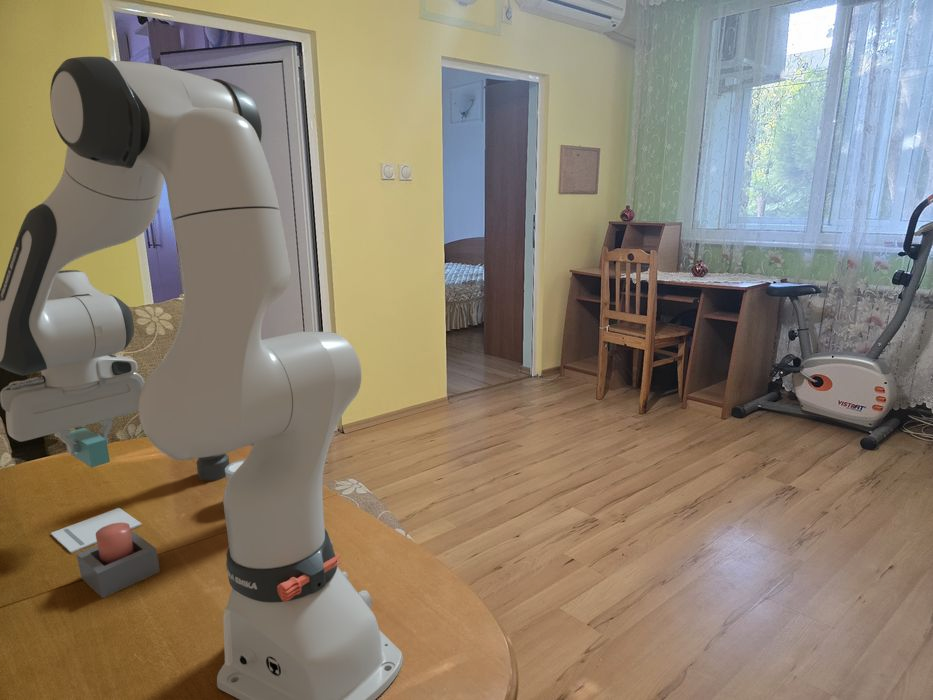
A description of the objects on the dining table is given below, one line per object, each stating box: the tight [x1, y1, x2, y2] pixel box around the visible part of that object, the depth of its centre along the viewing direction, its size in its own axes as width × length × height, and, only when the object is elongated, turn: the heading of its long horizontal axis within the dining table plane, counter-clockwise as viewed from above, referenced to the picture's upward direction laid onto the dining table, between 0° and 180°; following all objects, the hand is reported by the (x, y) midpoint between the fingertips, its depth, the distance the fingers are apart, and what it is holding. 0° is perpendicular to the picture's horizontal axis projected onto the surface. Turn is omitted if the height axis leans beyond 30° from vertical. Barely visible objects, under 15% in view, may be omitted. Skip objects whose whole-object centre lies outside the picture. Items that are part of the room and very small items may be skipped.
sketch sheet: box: [50, 507, 143, 554], centre depth 103 cm, size 10×11×1 cm
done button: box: [96, 523, 134, 566], centre depth 89 cm, size 4×4×5 cm
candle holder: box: [196, 453, 230, 482], centre depth 121 cm, size 6×6×25 cm
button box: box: [76, 531, 160, 599], centre depth 90 cm, size 8×8×4 cm
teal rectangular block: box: [67, 427, 111, 469], centre depth 101 cm, size 9×3×4 cm, turn 51°
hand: (88, 448), depth 101 cm, fingers closed on teal rectangular block, 3 cm apart
